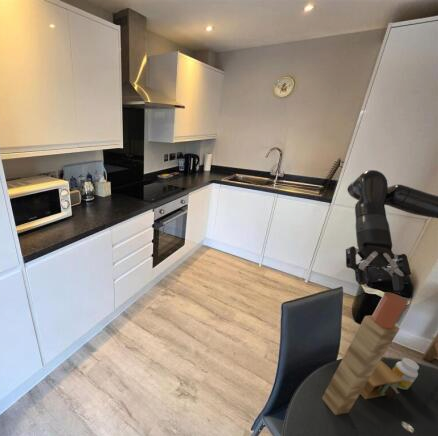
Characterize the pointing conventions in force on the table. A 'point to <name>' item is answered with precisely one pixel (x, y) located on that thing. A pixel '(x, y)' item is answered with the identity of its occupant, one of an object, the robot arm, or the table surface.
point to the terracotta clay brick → (389, 310)
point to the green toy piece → (390, 390)
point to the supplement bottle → (406, 372)
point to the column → (358, 365)
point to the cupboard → (380, 381)
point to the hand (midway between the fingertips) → (379, 287)
